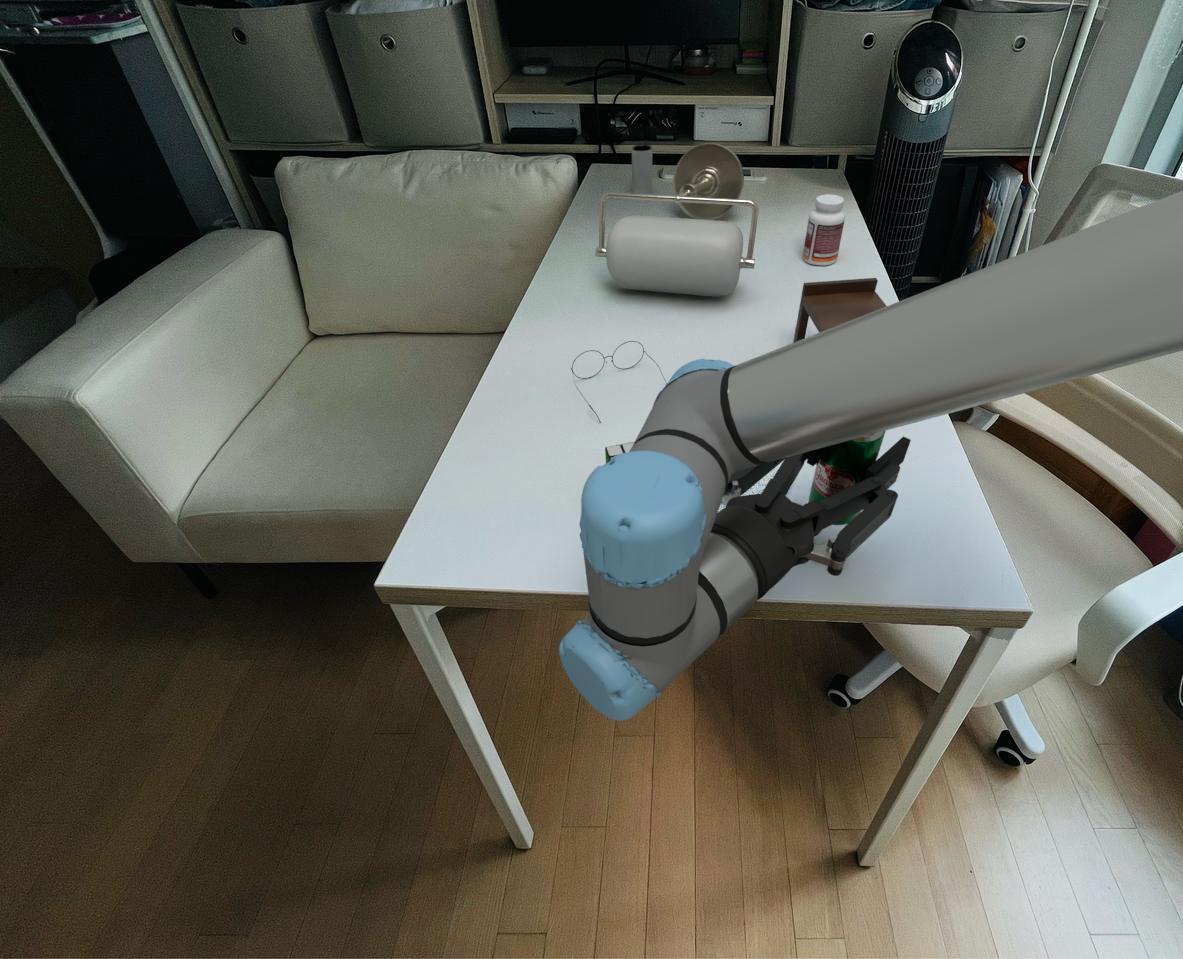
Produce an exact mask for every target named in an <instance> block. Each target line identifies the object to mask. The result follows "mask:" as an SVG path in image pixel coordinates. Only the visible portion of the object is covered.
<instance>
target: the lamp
mask: <svg viewBox="0 0 1183 959" xmlns="http://www.w3.org/2000/svg"><path fill="white" fill-rule="evenodd" d="M671 184H672V186H671V187H672V193H673V195H665V194H652V195H648V194H632V193H628V192H627V193H625V192H606V193H604V194H603V195H602V196H601V198H600V201H599V229H598V230H599V234H598V247H597V246H596V247H595V253H594V255H595V257H598V258H606V268H607V270H608V273H609V275H610V276H611V279H612V280H613V282H615V284H617V285H618V286H620V287H622V288H626V289H631V290H638V291H639V290H640V291H646V292H647V291H648V292H657V293H670V294H681V295H693V296H706V297H725V296H729V295H730V294H731V293H733V291H735V289H736V288H737V286H738V283H739V280H740V276H741V269H753V270H754V269H755V263H756V259H755V258H753V256H754V249H755V248H754V247H755V240H756V234H757V225H758V218H759V206H758V204H757V203H756V201H754V200H751V199H741V198H740V197H741V196H742V193H743V189H744V184H745V172H744V169H743V165H742V163H741V160H740V159H739V157H738V155H737V154H735V152H734V151H733V150H731V148H729V147H727V146H725V145H724V144H720V143H714V142H708V143H702V144H699V145H696V146H694V147H692V148H691V149H689V150H687V152H686V153H684V154H683V155H682V156H681V158H680V159H679V161H678V163H677V164H676V166H675V169H674V171H673V176H672V183H671ZM608 199H609V200H610V199H614V200H633V201H648V202H649V201H653V202H669V203H675V204H677V205H678V207H679V208H680V210H682V212H683V213H685V214H686V215H687V216H689V217H690V218H686V217H685V218H684V217H670V216H669V217H668V216H655V215H654V216H653V215H652V216H650V215H626V216H623V217H621V218H620V219H619V220H617V221H616V222H615V223H614V224H613V226H612V227H611V229H610V231H609V233H608V235H607V240H606V247H605V238H606V237H605V235H606V232H605V231H606V203H607V200H608ZM735 206H744V207H750V208H751V209H752V214H751V222H750V229H749V238H748V244H747V245H748V246H747V253H746V257H743V251H744V234H743V231H742V229H741V228H740V227H739V226H738V225H737V224H736V223H734V222H731V221H726V220H717V219H718V218H721V217H723V216H725V215H726V214H727V213H729V212H730V211H731V210H732V209H733V208H735Z"/></svg>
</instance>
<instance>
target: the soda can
mask: <svg viewBox="0 0 1183 959" xmlns="http://www.w3.org/2000/svg"><path fill="white" fill-rule="evenodd" d="M885 434H886V431H882V432H879V433H875V434H871V435H868V436H864V437H860V438H856V439H853V440H849V441H845V442H842V443H838V444H834V445H830V446H827V447H823V448H820V452H819V456H818V461H817V464H816V465H815V469H814V474H813V478H812V483H811V487H810V492H809V496H808V499H807V503H809V502H811V501H813V500H816V501H817V502H819V501H821V500H823V499H825V498H827V497H829V496H832V495H834V494H836V493H838V492H840V491H842V490H844V489H846V488H849V487H851V486H853V485H855V484H857V483H859V482H861V481H863V480H864V476H865V473H866V470H867V469H868V468H869V467H870V466H871V465H872V464H873V463H874V462H875V461H877V460H878V456H879V454H880V450H881V448H882V446H883V445H882V444H883V442H884V438H885ZM860 512H862V511H860ZM860 512H858V513H856V514H854V515H851V516H849V517H847V518H845V519H843V520H841V521H839V522H837V523H835V524H833V525H832V526H846V525H847V524H848V523H849V522H851V521H852V520H853V519H854V518H855V517H856V516H857V515H858V514H859V513H860Z"/></svg>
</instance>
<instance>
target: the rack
mask: <svg viewBox="0 0 1183 959" xmlns="http://www.w3.org/2000/svg"><path fill="white" fill-rule="evenodd" d="M878 281H879V280H878V278H877V277H868V278H867V277H866V278H855V279H854V278H853V279H839V280H838V279H837V280H825V281H824V280H823V281H810V282H804V283H803V286H802V292H801V296H800V301H799V308H798V313H797V319H796V325H795V329H794V336H793V342H792V343H794V342H797V341H799V340H802V339H805V338H806V335H807V331H808V330H807V328H808V324H809V318H810V320H811V322H812V323H813V325H814V327H815V328H816V330H817V333H820V332H822V331H825V330H828V329H830V328H833V327H835V326H838V325H840V324H843V323H845V322H848V321H851V320H853V319H856V318H858V317H861V316H863V315H866V314H868V313H871V312H874V311H876V310H879V309H881V308H884V307H886V306H887V305H886V303H885V302H884V300H883V299H882V298H881V297H880V296H879V294H878V293H877V292H876V289H877V285H878Z"/></svg>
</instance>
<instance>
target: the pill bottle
mask: <svg viewBox="0 0 1183 959" xmlns="http://www.w3.org/2000/svg"><path fill="white" fill-rule="evenodd" d="M844 202H845V199H844V198H843V197H842V196H841V195H838V194H831V193H829V194H821V195H818V196H816V199H815V202H814V207H815V208H813V210H811V211H810V213H809V215H808V220H807V227H806V231H805V232H806V233H805V237H804V238H805V239H804V244H803V251H802V259H803V261H804V262H805V263H807V264H809V265H813V266H821V267H822V266H823V267H824V266H830V265H832V264H834V263H835V262H836V261H837V259H838V256H839V251H840V246H841V241H842V236H843V235H842V234H843V231H844V226H845V220H846V214H845V212H844V210H842V209H843V208H844Z"/></svg>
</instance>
